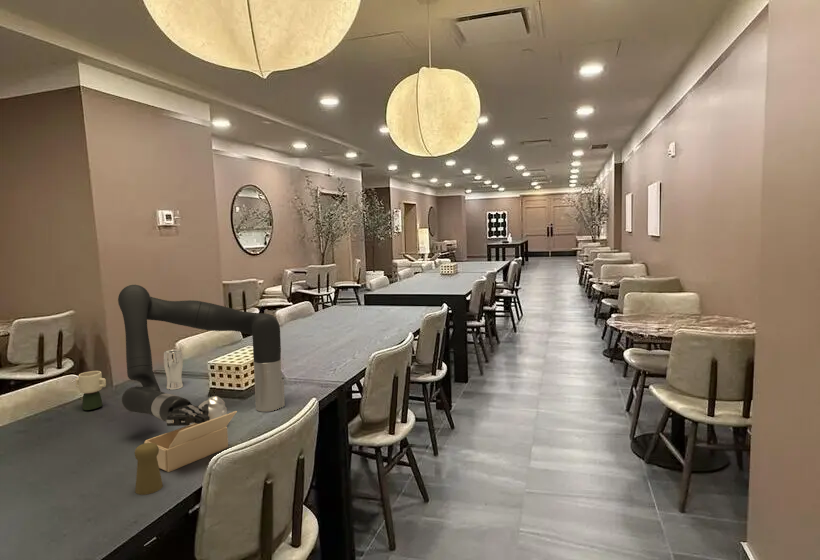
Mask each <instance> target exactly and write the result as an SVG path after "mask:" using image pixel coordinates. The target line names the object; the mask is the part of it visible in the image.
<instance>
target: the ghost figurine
mask: <svg viewBox="0 0 820 560" xmlns="http://www.w3.org/2000/svg"><path fill="white" fill-rule="evenodd" d="M205 404H209V414H208V416H209V417H210V420H212V419H215V418H217V417H220V416H223V415H226V414H228V413H227V412H228V408H227V407H226V402H225V401H224V399H222V398H221V397H220V396H217V395H213V396H211V397H209V398H208V399H207V400H204V401H202V402H201V403H200V404H199V405H198V407H199V408H200V407H202V406H204V405H205Z"/></svg>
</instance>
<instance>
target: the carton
mask: <svg viewBox="0 0 820 560" xmlns="http://www.w3.org/2000/svg"><path fill="white" fill-rule="evenodd" d="M195 425H198V424H197V423H196V424H192V423H190V425H188V426H182V427H180V428H177V429H173V430H171V431H168V432H165V433H162V434H160V435H157V436H154V437H150V438H148V439H146V440H144V442H143V444H145V443H155V444H157V446H158V448H159V453H158V455H157V461H158V465H159V470H163V471H165V472H167V473H170V472H173V471H176V470H177V469H180V468H182V467H185V466H187V465H190V464H191V463H195V462H196V461H199V460H202V459H204V458H206V457H209V456H211V455H213V454H215V453H219V452H220V451H224V450H226V449H228V448H229V439H228V437H229V436H228V427H227V426H226V427H225V428H222V429H219V430H217V431H214V432H211V433H209V434H206V435H203V436H201V437H198V438H195V439H193V440H190V441H187V442H185V443H182V444H179V445H177V446H174V447H171V448H169V446H170V445H171V443H172V442H173V440H174V439H175V437H176V436H177V434H178V433H179V431H180V430H183V429H186V428H189V427H192V426H195Z"/></svg>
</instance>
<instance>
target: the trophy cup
mask: <svg viewBox="0 0 820 560" xmlns="http://www.w3.org/2000/svg"><path fill="white" fill-rule="evenodd" d="M77 377H78V378H75V387H76V388H79V393H81V394H83V396H82V401H81V402H82V403H81V404H82V408H81V409H82V410H84V411H90V410H95V409H98V408H101V407H103V406H104V405H103V401H102V396H101V395H102V394H101V393H100V390H102V389H103V388H106V386H107V379H106V378H104V377H103V375H102V371H100V370H91V371H85V372H81V373H79V374H78V376H77Z"/></svg>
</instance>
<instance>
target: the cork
mask: <svg viewBox="0 0 820 560" xmlns="http://www.w3.org/2000/svg"><path fill="white" fill-rule="evenodd" d="M158 453H159V448H158V446H157V444H155V443H145V444H144V443H142V444H139V445H138V446H137V447H136V448H135V449H134V457H135V458H134V459H135V460H137V465H136V477H135V488H134V491H135V492H134V493H135V494H136V495H141V496H143V495H150V494H154V493H156V492H159V491H160V490H161V489H162V488H163V487H164V484H163V480H162V479H163V478H162V475H161V471H160V470H161V469H160V468H159V465H158V461H157V455H158Z"/></svg>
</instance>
